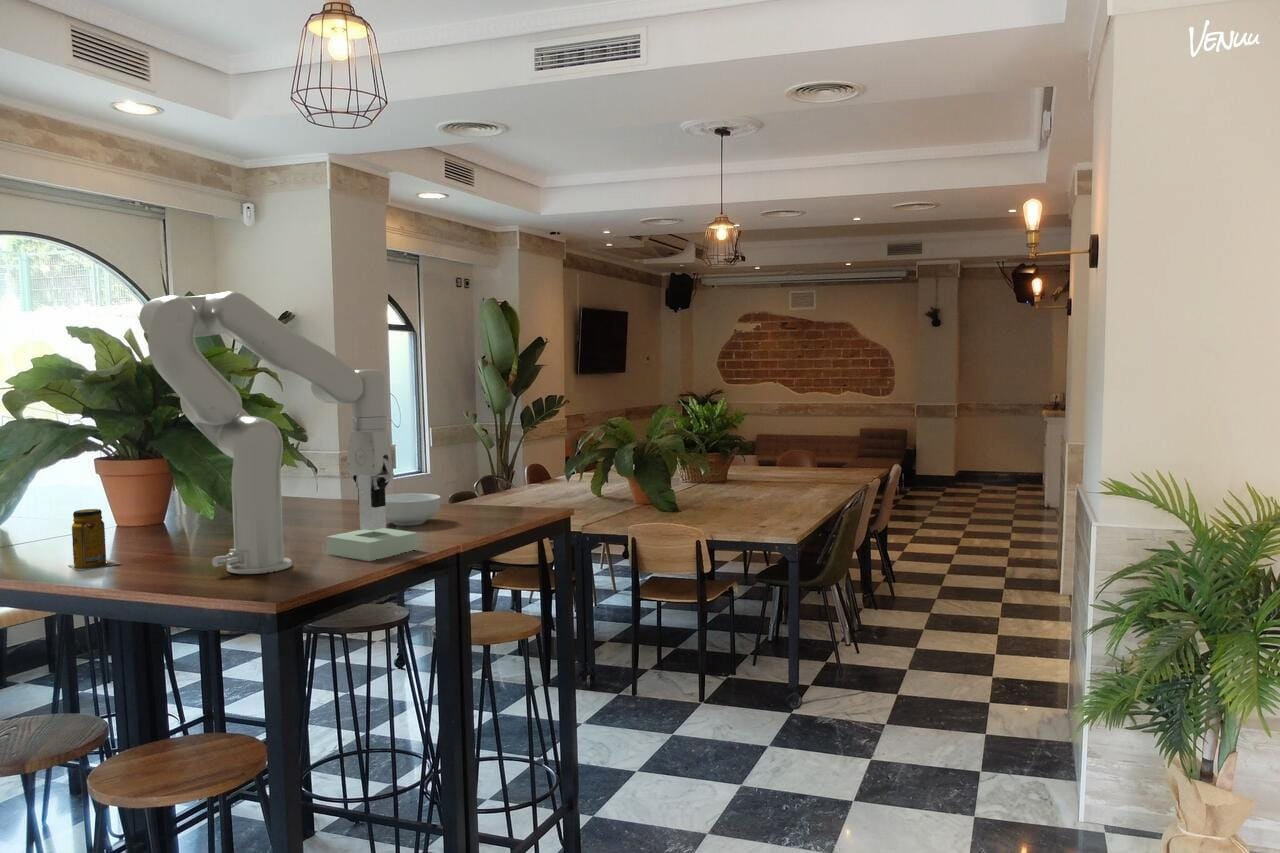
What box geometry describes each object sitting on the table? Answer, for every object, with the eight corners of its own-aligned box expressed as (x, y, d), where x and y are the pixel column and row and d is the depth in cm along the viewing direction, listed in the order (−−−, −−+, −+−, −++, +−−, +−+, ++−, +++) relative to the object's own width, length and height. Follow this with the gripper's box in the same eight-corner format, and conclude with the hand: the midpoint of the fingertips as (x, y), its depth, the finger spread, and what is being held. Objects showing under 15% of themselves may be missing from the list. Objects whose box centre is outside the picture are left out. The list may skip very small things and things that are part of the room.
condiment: (68, 566, 205) (65, 510, 204) (112, 560, 210) (109, 505, 209) (77, 571, 199) (74, 514, 198) (121, 565, 205) (119, 509, 204)
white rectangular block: (372, 530, 213) (369, 467, 212) (360, 528, 216) (357, 466, 215) (386, 527, 217) (384, 466, 216) (374, 526, 219) (372, 465, 218)
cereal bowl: (425, 529, 244) (424, 502, 244) (364, 528, 248) (364, 500, 247) (451, 518, 261) (450, 492, 260) (394, 517, 264) (393, 491, 264)
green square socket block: (369, 561, 207) (368, 542, 206) (327, 554, 214) (326, 536, 214) (417, 550, 218) (417, 532, 218) (376, 543, 226) (375, 526, 226)
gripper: (331, 424, 216) (334, 505, 217) (381, 427, 207) (384, 511, 208) (357, 422, 222) (360, 500, 223) (408, 424, 213) (410, 506, 214)
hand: (372, 504), depth 216 cm, fingers closed on white rectangular block, 4 cm apart
